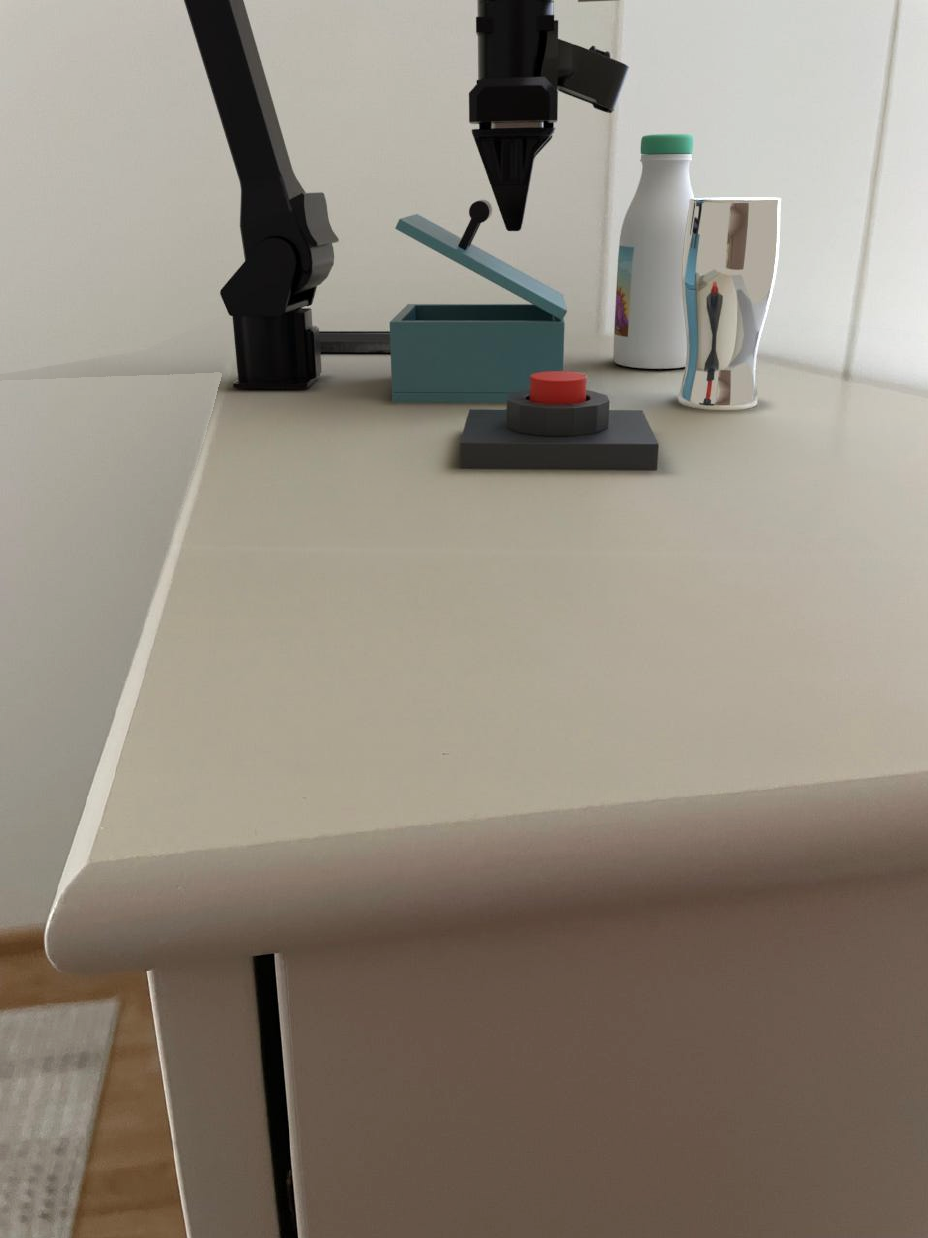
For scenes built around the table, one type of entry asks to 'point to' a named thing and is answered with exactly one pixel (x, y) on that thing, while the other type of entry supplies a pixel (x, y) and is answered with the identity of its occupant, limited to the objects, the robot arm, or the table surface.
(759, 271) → the beer glass
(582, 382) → the power button
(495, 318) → the teal rectangular box
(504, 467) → the control box
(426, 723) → the table surface
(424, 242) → the lid
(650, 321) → the milk bottle
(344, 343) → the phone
